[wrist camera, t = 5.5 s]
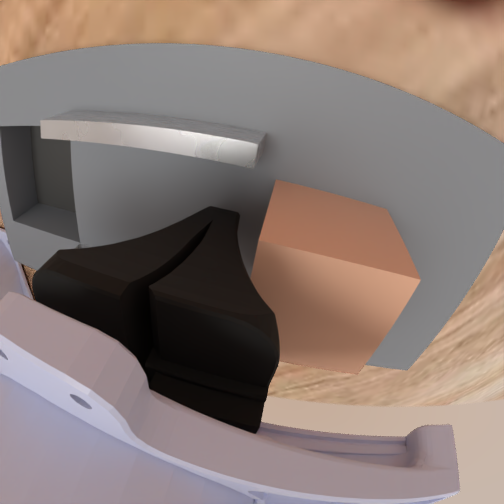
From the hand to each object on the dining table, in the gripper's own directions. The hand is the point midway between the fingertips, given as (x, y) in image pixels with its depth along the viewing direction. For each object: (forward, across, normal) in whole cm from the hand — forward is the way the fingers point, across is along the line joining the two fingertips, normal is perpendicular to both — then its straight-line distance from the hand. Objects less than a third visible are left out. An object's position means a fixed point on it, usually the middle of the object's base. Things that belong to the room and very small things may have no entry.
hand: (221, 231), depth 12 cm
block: (+1, -4, 0) cm, 4 cm away
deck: (+4, +2, 0) cm, 4 cm away
